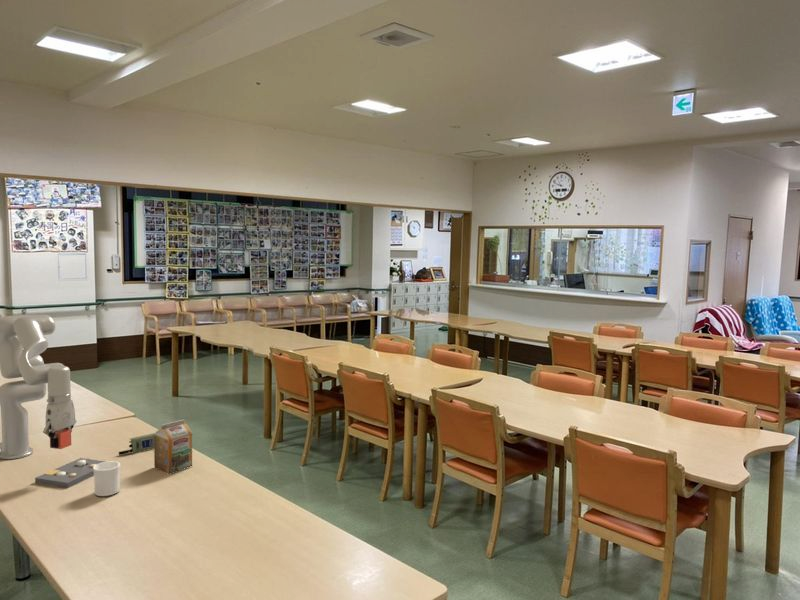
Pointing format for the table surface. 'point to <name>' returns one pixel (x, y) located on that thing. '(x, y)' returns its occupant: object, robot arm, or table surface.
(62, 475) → the cream egg in tray
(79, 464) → the white egg
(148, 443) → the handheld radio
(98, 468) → the mug
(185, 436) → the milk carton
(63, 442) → the cap
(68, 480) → the panel
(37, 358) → the robot arm
